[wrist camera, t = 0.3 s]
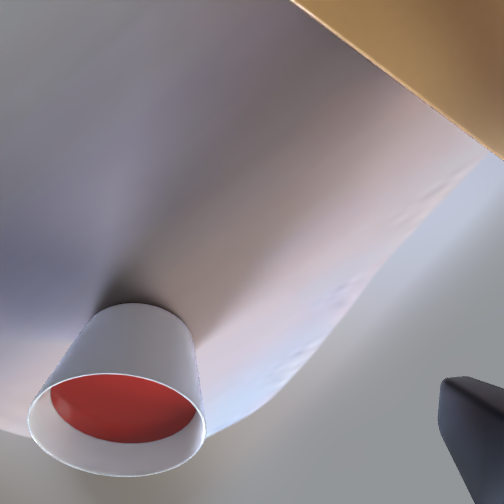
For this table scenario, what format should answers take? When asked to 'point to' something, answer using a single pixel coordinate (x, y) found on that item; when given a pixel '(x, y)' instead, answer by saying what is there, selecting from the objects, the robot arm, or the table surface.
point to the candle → (123, 396)
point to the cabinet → (431, 53)
